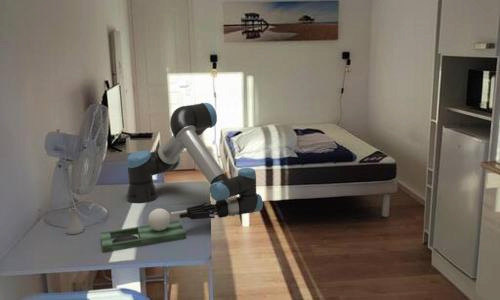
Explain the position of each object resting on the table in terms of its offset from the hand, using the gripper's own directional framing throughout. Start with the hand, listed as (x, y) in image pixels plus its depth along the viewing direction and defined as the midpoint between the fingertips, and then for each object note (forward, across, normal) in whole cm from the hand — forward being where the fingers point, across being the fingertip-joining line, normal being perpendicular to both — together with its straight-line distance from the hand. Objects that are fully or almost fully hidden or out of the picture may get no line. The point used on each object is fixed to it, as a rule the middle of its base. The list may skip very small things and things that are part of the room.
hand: (171, 216), depth 194 cm
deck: (+12, +1, -8) cm, 14 cm away
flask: (+38, +20, -8) cm, 43 cm away
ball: (+5, +1, -1) cm, 5 cm away
